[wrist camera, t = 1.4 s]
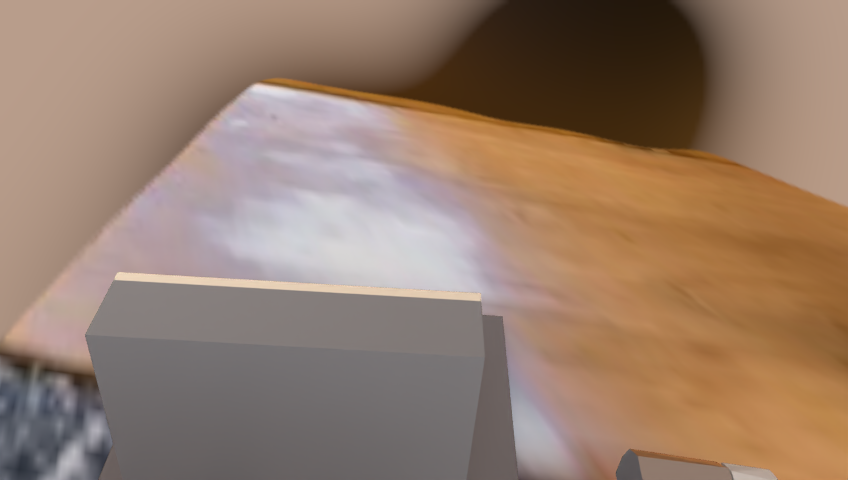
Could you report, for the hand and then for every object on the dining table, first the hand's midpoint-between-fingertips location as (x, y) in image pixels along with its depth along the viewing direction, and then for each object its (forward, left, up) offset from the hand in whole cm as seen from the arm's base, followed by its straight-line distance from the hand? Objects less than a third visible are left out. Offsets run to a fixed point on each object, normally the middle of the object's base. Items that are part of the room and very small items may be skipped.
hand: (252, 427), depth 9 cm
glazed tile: (+2, -13, -22) cm, 26 cm away
